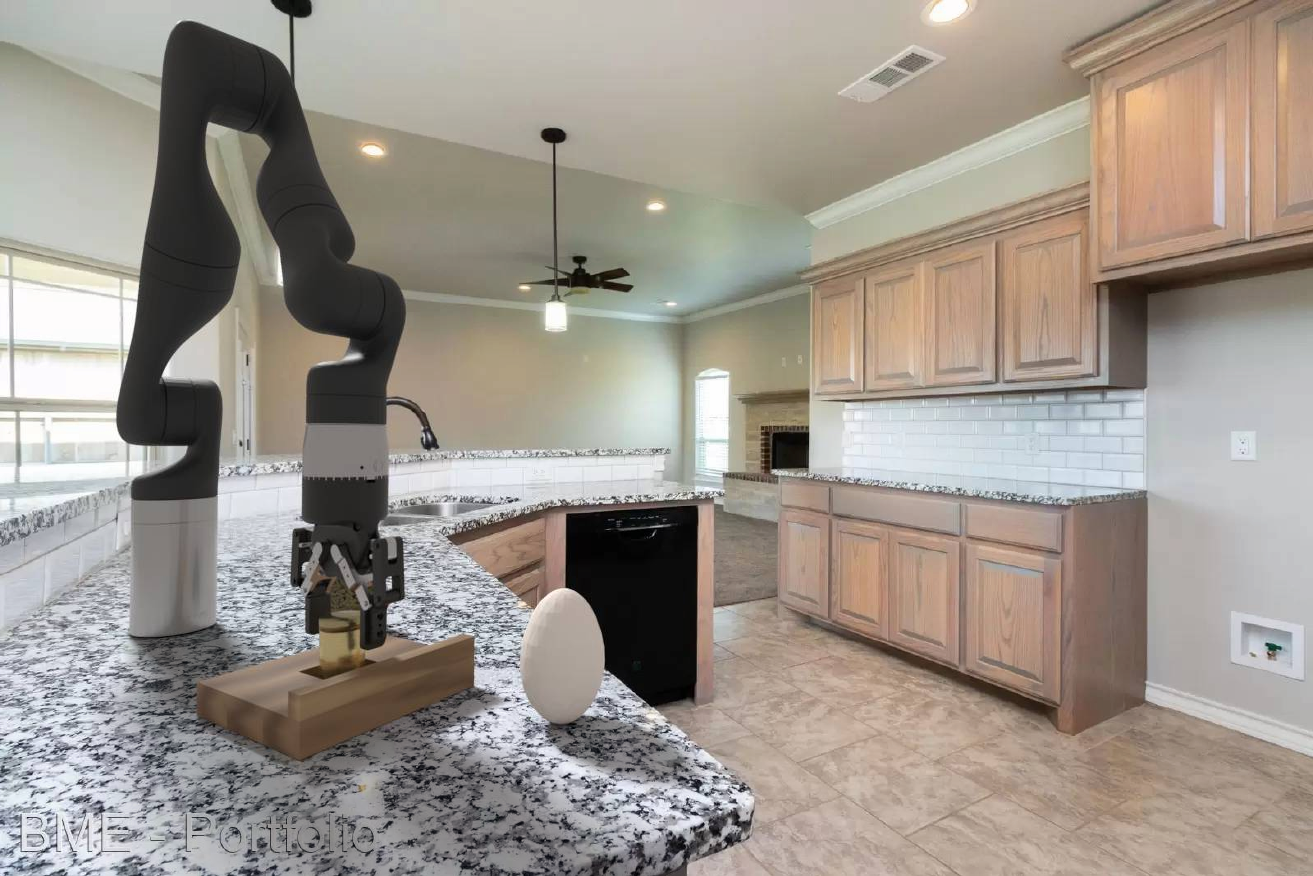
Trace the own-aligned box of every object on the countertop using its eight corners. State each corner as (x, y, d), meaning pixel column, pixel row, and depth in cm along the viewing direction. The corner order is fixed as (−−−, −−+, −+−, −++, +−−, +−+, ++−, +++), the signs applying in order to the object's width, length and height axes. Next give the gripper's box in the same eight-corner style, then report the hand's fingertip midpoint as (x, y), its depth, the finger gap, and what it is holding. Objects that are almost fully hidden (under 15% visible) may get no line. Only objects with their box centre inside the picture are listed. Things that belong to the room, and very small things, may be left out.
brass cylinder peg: (308, 702, 61) (309, 617, 61) (348, 688, 64) (349, 608, 64) (334, 712, 59) (335, 624, 59) (374, 696, 62) (375, 614, 62)
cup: (357, 638, 81) (357, 575, 81) (306, 634, 82) (307, 572, 82) (393, 622, 88) (393, 564, 88) (345, 619, 89) (346, 561, 90)
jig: (196, 715, 58) (197, 659, 58) (373, 658, 73) (374, 614, 73) (299, 760, 50) (299, 695, 50) (474, 685, 65) (474, 636, 65)
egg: (557, 749, 52) (558, 603, 52) (502, 723, 56) (503, 589, 57) (621, 719, 57) (622, 588, 57) (566, 698, 62) (566, 576, 62)
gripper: (265, 470, 62) (263, 638, 62) (357, 476, 55) (355, 665, 55) (337, 468, 69) (335, 620, 69) (428, 472, 61) (426, 642, 61)
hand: (344, 640), depth 62 cm, fingers open, 8 cm apart
